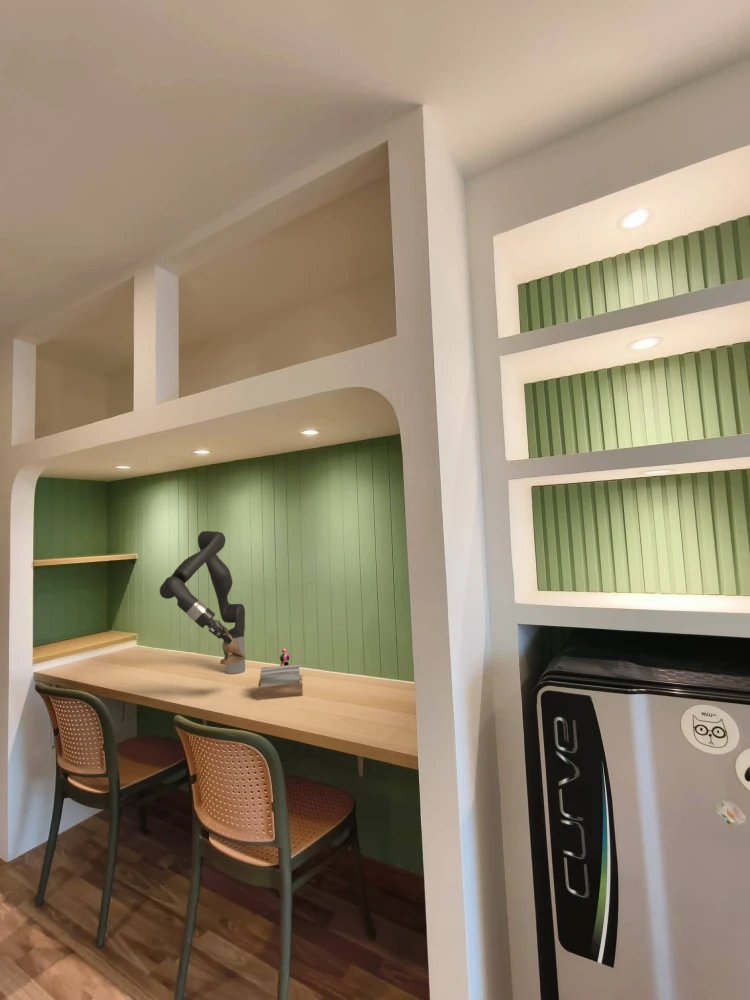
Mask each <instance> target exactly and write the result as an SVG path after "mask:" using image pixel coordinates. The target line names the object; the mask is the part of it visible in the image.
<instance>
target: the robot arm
mask: <svg viewBox="0 0 750 1000" xmlns="http://www.w3.org/2000/svg"><path fill="white" fill-rule="evenodd" d="M197 544H198V547H199V550H200V551H198V552H195V553H194V554H192V555H191V556H188V557H187V558H185V559H184V560H183V561H182V562H181V563H180V564H179V566H178V567H176V569H175V570H174V572H173V573H172V574H171V575H170V576H169V577H168V576H167V578H166V579H165V580H164V581H163V583H162V584H161V585H160V586H159V595H160V596H161V597H162V598H163V599H166V600H167V599H169V600H170V599H173V598H175V599H176V601H177V603H176V604H177V606H178V608H180V610H182V611H183V612H184V613H185V614H186V616H188V617H189V618H190V619H191V620H192V621H193V622H195V624H197V625H198V626H199V627H200V628H201V629H203V628H205V626H207V628H208V632H210V633H211V634H212V635H214V636H215V637H216V638H218V639H222V641H223V640H224V641H225V642H226V643H227V644H230V643H231V641H232V639H231V638H230V637H228V636H227V635H225V632H224V628H226V627H225V626H224V625H223V623H222V622H221V621H220V620H218V619H217V620H215V618H214V617H215V616H216V614H215V612H214V611H212V609H210V608H209V607H208V606H207V605H206V604H205V603H203V602H202V601H200V600H199V599H198V598H197V597H196V596H195V595H193V594H192V593H191V591H190V589H189V588H188V586H186V583H187V582H188V581H189V580H190V579H191V578H192V577H193V576H194V575H195V574H196V572H198V570H199V569H200V568H201V567H202V566H203V565H204V564H206V567H207V570H208V573H209V576H210V577H209V578H210V580H211V583H212V587H213V589H214V592H215V595H216V599H217V603H218V608H219V614H220V617H221V619H222V621H223V622H224V623H227V624H233V623H234V626H233V628H230V629H227V630H228V633H229V634H230V635H231V636H232V638H233V640H234V642H235V644H236V645H237V647H238V648H239V649H240V651H241V652H242V653H243V654H244V655H245V656H246V650H245V647H246V646H245V629H246V609H245V606H244V604H242V603H229V600H228V599H229V598H228V596H229V594H230V591H231V589H232V587H233V578H232V574H231V571H230V569H229V567H228V566H227V564H225V563H224V562H223V560H221V559H220V557H219V556H218V555H217V554H219V553H220V551H222V549H223V548H224V547H225V545H226V536H225V534H224V533H223V532H220V531H216V530H215V531H213V530H212V531H211V530H204V531H201V532H200V533H199V534H198V537H197ZM224 641H223V642H224ZM245 671H246V658H245V659H244V660H240V661H237V662H234V663H230V664H227V665H225V673H226V674H228V675H229V674H230V675H234V674H241V673H243V672H245Z"/></svg>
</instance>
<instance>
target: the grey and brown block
mask: <svg viewBox="0 0 750 1000" xmlns="http://www.w3.org/2000/svg"><path fill="white" fill-rule="evenodd" d="M259 677H260V678H259V681H258V686H257V700H258V701H262V700H263V701H265V700H274V699H284V698H291V697H292V698H293V697H303V696H304V694H303V693H304V692H303V676H302V674H300V664H289V665H287V666H281V665H279V666H278V665H277V666H265V667H261V669H260V674H259Z"/></svg>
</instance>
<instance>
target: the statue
mask: <svg viewBox="0 0 750 1000" xmlns="http://www.w3.org/2000/svg"><path fill="white" fill-rule="evenodd" d="M281 652H282V654H280V655H279V659H280V662H281V663H280V666H287V665H290V664H289V662H288V661H290V653H285V652H286V648H282V649H281ZM301 675H302V674H301ZM302 677H304V675H302Z"/></svg>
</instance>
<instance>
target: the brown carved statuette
mask: <svg viewBox="0 0 750 1000" xmlns="http://www.w3.org/2000/svg"><path fill="white" fill-rule="evenodd" d="M228 630H229V629H228V628H227V627H225V628H224V632H225V635H227V636H228V637H230V638H231V639H232V641H231V643H230V644H227V643H226V642H225V641H224V640H223V639H222V641H223V642H222V645H221V646H222V651H223V655H224V658H222V659H221V660H219V661H220V662H219V664H220V665H225V666H226V665H227V664H230V663H234V662H237V661H240V660H244V659H245V660H246V654H245V655H244V654H243V653H242V652H241V651H240V649H239V648H238V647H237V645H236V644H235V642H234V640H233V638H232V636H231V635H230V634H229V633H228Z"/></svg>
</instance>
